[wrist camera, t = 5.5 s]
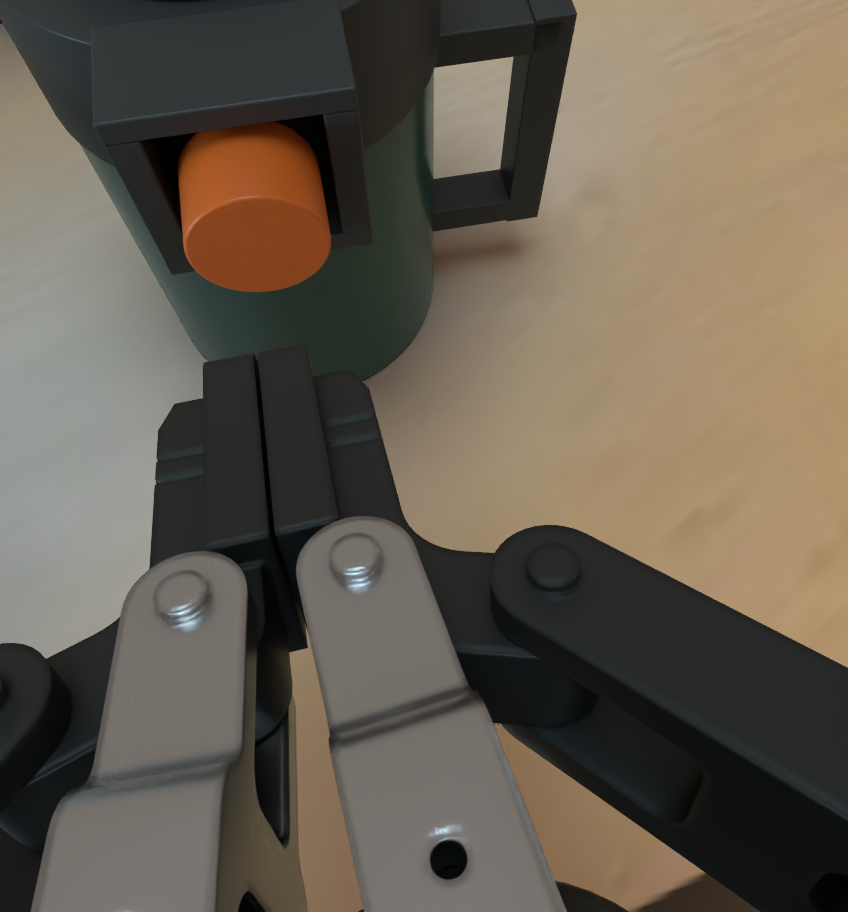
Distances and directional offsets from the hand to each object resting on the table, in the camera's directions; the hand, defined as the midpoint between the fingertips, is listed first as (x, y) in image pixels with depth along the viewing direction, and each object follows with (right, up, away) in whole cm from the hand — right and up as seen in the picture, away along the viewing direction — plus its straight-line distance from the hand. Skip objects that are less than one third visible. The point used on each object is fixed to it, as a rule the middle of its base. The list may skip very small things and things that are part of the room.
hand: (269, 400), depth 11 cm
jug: (-2, +7, +24) cm, 25 cm away
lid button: (-2, +4, +8) cm, 10 cm away
